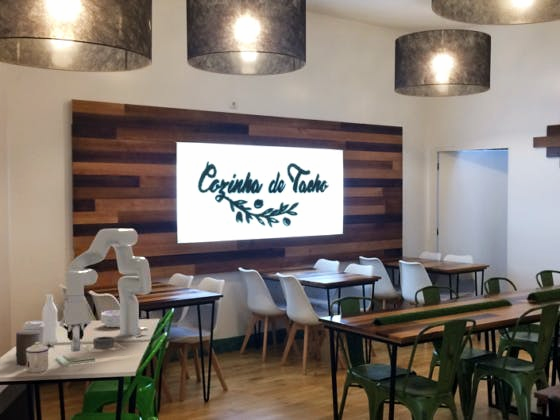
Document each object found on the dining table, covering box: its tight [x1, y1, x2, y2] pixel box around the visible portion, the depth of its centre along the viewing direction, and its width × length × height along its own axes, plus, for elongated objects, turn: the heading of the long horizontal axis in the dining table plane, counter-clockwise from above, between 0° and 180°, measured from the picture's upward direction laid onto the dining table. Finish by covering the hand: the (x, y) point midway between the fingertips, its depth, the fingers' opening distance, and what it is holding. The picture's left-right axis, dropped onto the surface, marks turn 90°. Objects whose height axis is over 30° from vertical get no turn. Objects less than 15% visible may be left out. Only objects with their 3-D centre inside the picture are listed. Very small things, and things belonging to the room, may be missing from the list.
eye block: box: [83, 336, 125, 353], centre depth 308 cm, size 16×16×6 cm
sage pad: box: [55, 355, 97, 367], centre depth 289 cm, size 14×14×1 cm
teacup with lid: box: [26, 342, 50, 373], centre depth 272 cm, size 12×9×12 cm
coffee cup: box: [22, 320, 45, 346], centre depth 299 cm, size 10×10×15 cm
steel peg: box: [70, 324, 81, 353], centre depth 288 cm, size 4×4×13 cm
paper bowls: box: [100, 309, 120, 328], centre depth 365 cm, size 15×15×8 cm
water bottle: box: [41, 293, 59, 347], centre depth 318 cm, size 7×7×25 cm
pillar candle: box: [15, 329, 40, 366], centre depth 285 cm, size 10×10×15 cm
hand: (75, 338), depth 288 cm, fingers closed on steel peg, 4 cm apart
